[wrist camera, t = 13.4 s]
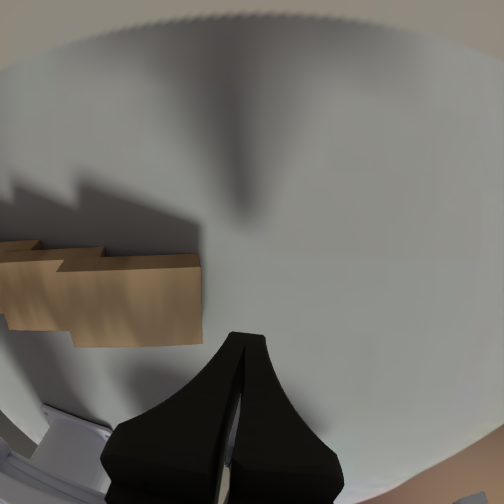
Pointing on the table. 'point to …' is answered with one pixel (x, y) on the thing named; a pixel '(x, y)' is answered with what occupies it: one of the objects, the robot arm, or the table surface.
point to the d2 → (36, 287)
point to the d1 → (132, 300)
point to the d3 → (19, 249)
